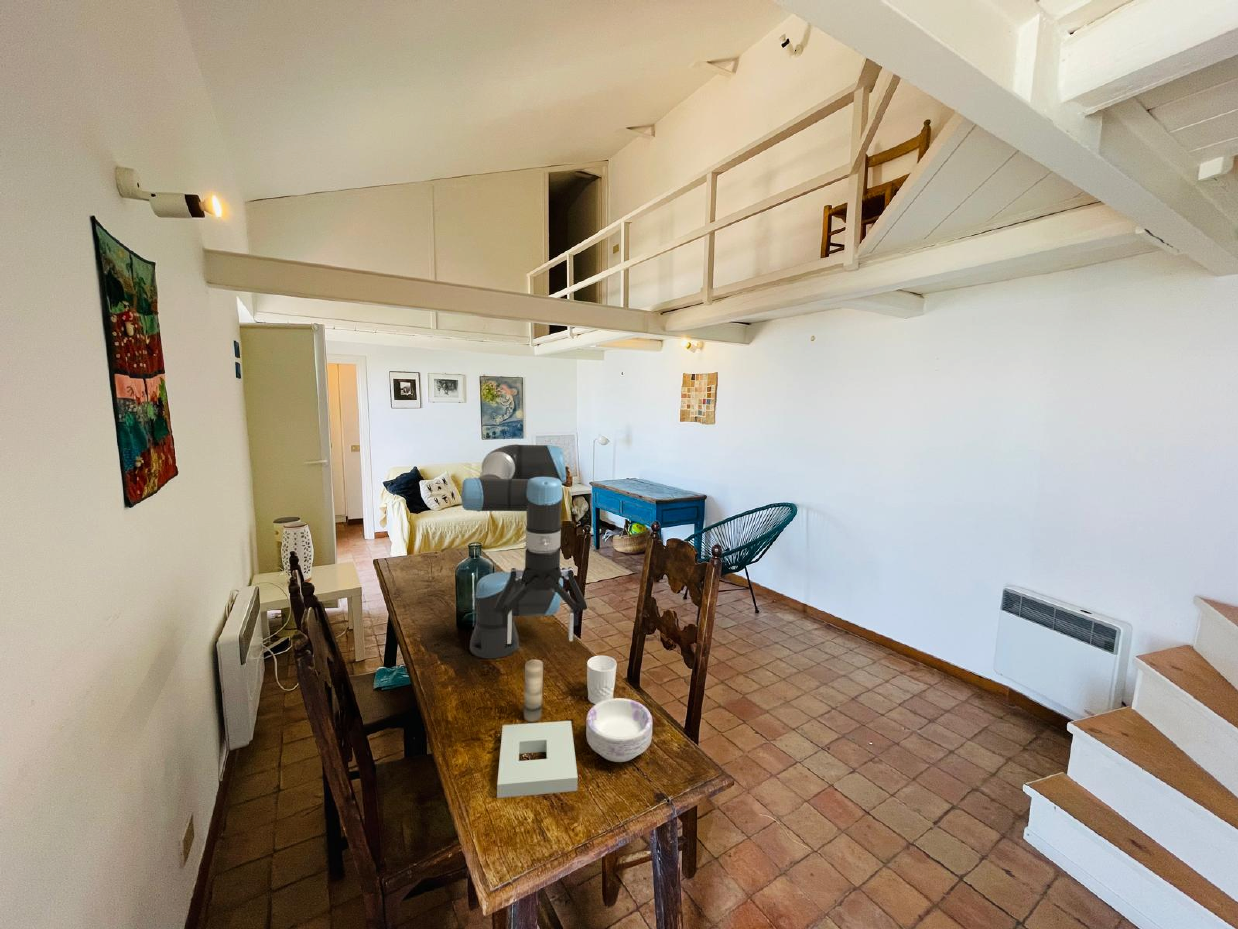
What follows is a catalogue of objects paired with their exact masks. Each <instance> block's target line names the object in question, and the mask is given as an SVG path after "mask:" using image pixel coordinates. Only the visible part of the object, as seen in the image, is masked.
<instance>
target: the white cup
mask: <svg viewBox="0 0 1238 929" xmlns="http://www.w3.org/2000/svg"><path fill="white" fill-rule="evenodd" d="M586 663H587V664H586V673H587V674H586V679H587V681H586V682H587V683H586V684H587V686H586V687H587V699H588V701H589V702H590V703H591V704H594V705H596V704H597V703H599V702H601V701H604V700H607V699H612V698H614V691H615V690H614V689H615V686H616V685H615V684H616V673H617V664H618V662H617V661H616V660H615V659H614V658H613V657H611V656H608V655H595V656H592V657H590V658H589V659H588V660H587V662H586Z"/></svg>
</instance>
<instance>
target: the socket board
mask: <svg viewBox="0 0 1238 929" xmlns="http://www.w3.org/2000/svg"><path fill="white" fill-rule="evenodd" d="M501 731H502V732H501V741H500V742H501V743H500V750H499V751H500V752H499V761H498V762H499V763H498V771H497V772H498V773H497V774H498V775H497V784H496V786H497V788H496V790H497V791H496V794H497V795H496V799H501V798H502V799H504V798H513V797H514V798H515V797H524V796H535V795H536V796H537V795H546V794H556V793H557V794H558V793H568V792H569V793H570V792H577V791H578V770H577V769H578V768H577V761H576V752H575V744H574V735H573V727H572V720H563V721H547V722H545V721H544V722H529V723H517V724H515V723H514V724H504V725H502V729H501ZM533 753H545V754H546V755H545V757H546V758H540V759H529V760H528V759H527V760H520V755H521V754H522V755H523V754H524V755H525V754H533Z"/></svg>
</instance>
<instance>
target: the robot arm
mask: <svg viewBox="0 0 1238 929" xmlns="http://www.w3.org/2000/svg"><path fill="white" fill-rule="evenodd" d="M564 455H565V454H564V450H563V449H562V447H560V446H557V445H550V444H545V445H544V444H542V445H541V444H508V445H504V446H503V445H502V446H500V447H497V448H495V449H494V450H492V451H490V452H488V454H487V455H485V457H484V458H483V460H482V463H481V471H480V473H479V476H478V477H470V478H467V477H466V478H465V479H463V482H462V485H461V506H462V508H463V509H464V510H465V511H474V512H475V511H476V512H526V514H525V515H526V524H525V525H526V526H525V527H526V528H525V548H526V549H525V553H524V554H525V555H524V556H525V557H524V558H525V559H524V561H525V562H524V569H522V570H521V569H520V570H519V569H516V568H515V567H512V568H510V572H508V571H497V572H493V573H489V574H487V575H484V576H482V577H481V578H480V579H479V580H478V581H477V583H476V592H475V601H476V602H475V608H476V609H475V625H474V629H473V631H472V634H471V638H470V640H469V651H470V653H471V654H472V655H474V656H475V657H479V658H482V659H500V658H503V657H504V658H505V657H507V656H510V655H511V654H513V653H515V652H516V651H517V650H518V649H519V645H520V644H519V643H520V639H519V638H520V637H519V634H518V631H517V629H516V628H517V627H516V625H515V622H514V621H515V618H514V617H535V616H537V617H540V616H541V617H545V616H554V615H556V614H558V612H559V610H560V607H561V603H562V600H563V601H564V602H565V604H566V605H567V606H568V607H569V610H568V611H569V613H568V615H569V617H568V618H569V619H568V640H569V641H568V642H573V641H574V626H578V625H579V619H580V618H579V614H580V612H581V611H586V610H587V609H588V604H587V601H586V599H585V597H584V595H583V594H582V591H581V590H580V587H579V585H578V583H577V581H576V579H575V576H574V574H575V572H574V569H573V567H571V566H570V567H568V568H565V569H561V565H560V563H561V549H560V547H561V536H562V535H561V532H562V529H561V528H562V526H561V525H562V524H561V523H562V522H561V521H562V506H563V505H562V504H563V502H562V501H563V494H564V493H563V484H566V483H567V472H566V464H565V463H566V462H565V456H564ZM562 577H564V579H565V580H568V582H569V585H570V587H571V589H572V592H573V594H574V596H575V598H576V600H577V602H578V603H577V602H576V601H575V599H573V597H572V596H571V595H570V594H569V593H568V592H567V591H566V589H565V588H564V579H563V578H562Z"/></svg>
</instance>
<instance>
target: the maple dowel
mask: <svg viewBox="0 0 1238 929" xmlns="http://www.w3.org/2000/svg"><path fill="white" fill-rule="evenodd" d="M543 673H544V662H543V661H542V660H539V659H530V660H528V661H526V662H525V664H524V691H523V692H524V696H523V697H524V698H523V700H524V701H523V718H524V720H525V721H527V722H529V723H536V722H537V721H539V720H541V719H542V716H543V715H542V713H543V712H542V709H543V681H544V680H543V679H544V678H543V676H544V674H543Z"/></svg>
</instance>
